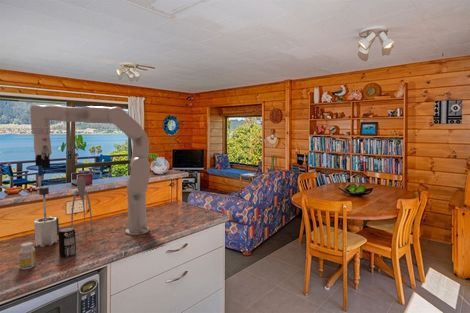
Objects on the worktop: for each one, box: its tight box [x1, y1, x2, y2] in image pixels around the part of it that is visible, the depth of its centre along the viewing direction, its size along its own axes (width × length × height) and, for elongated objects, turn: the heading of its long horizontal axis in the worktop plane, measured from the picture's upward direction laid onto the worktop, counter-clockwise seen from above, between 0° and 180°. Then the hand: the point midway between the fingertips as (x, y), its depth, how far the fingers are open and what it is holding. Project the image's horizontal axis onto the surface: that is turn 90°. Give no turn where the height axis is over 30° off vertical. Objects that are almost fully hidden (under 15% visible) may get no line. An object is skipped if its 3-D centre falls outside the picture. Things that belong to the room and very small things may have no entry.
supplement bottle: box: [18, 241, 37, 270], centre depth 119 cm, size 5×5×10 cm
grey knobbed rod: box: [38, 186, 52, 222], centre depth 142 cm, size 6×6×18 cm
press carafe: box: [33, 216, 60, 248], centre depth 144 cm, size 12×9×12 cm
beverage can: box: [57, 226, 77, 258], centre depth 130 cm, size 7×7×12 cm
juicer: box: [70, 176, 93, 230], centre depth 165 cm, size 10×9×30 cm
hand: (42, 166), depth 140 cm, fingers open, 9 cm apart
